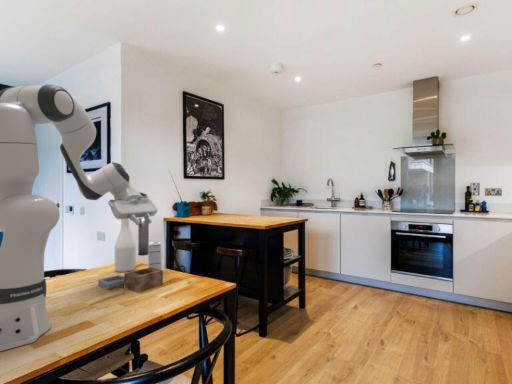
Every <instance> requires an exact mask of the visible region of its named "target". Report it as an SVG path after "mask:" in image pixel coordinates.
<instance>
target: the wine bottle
mask: <svg viewBox="0 0 512 384" xmlns="http://www.w3.org/2000/svg"><path fill="white" fill-rule="evenodd" d="M120 220H121V225H120V229H119V230H120V231H119V233H118V235H117V239H116V241H115V245H114V271H116V272H118V273H128V272H132V271H135V270H136V265H137V264H136V262H137V261H136V260H137V259H136V256H137V255H136V253H137V252H136V251H137V250H136V243H135V240H134V237H133V234H132V231H131V229H130V221H129V220H130V219H129V218H128V219H120Z"/></svg>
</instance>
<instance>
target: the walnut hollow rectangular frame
mask: <svg viewBox="0 0 512 384" xmlns="http://www.w3.org/2000/svg"><path fill="white" fill-rule="evenodd" d="M123 273H124V274H123V276H124V286H123V287H124V289H126V290H128V291H131V292H134V293H140V292H143V291H146V290H149V289H153V288H156V287H160V286H163V283H164V270H163V269H161V270H159V269H155V268H151V267H149V266H148V267H146V268H141V269H137V270H136V269H135V270H132V271H128V272H123Z"/></svg>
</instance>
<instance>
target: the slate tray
mask: <svg viewBox="0 0 512 384" xmlns="http://www.w3.org/2000/svg"><path fill="white" fill-rule="evenodd" d="M97 283H98V284H97V286H98V287H101V288H103V289H105V290H108V291H111V290H115V289H118V288H123V287H124V275H120V274H117V275H113V276H108V277H103V278H99V279H97Z"/></svg>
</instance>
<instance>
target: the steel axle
mask: <svg viewBox="0 0 512 384" xmlns="http://www.w3.org/2000/svg"><path fill="white" fill-rule="evenodd" d="M138 219H140V220H141V222H142V223H141V224H140V225H137V226H138V228H137V229H138V238H137V239H138V240H137V241H138V242H137V243H138V245H137V249H138V250H137V251H138V252H137V253H138V254H137V255H138V256H141V257H142V256H143V257H144V256H149V243H150V242H149V241H150V239H149V237H150V236H149V235H150V233H149V231H150V229H149V226H150V225H149V218H144V217H139V218H138Z"/></svg>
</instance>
